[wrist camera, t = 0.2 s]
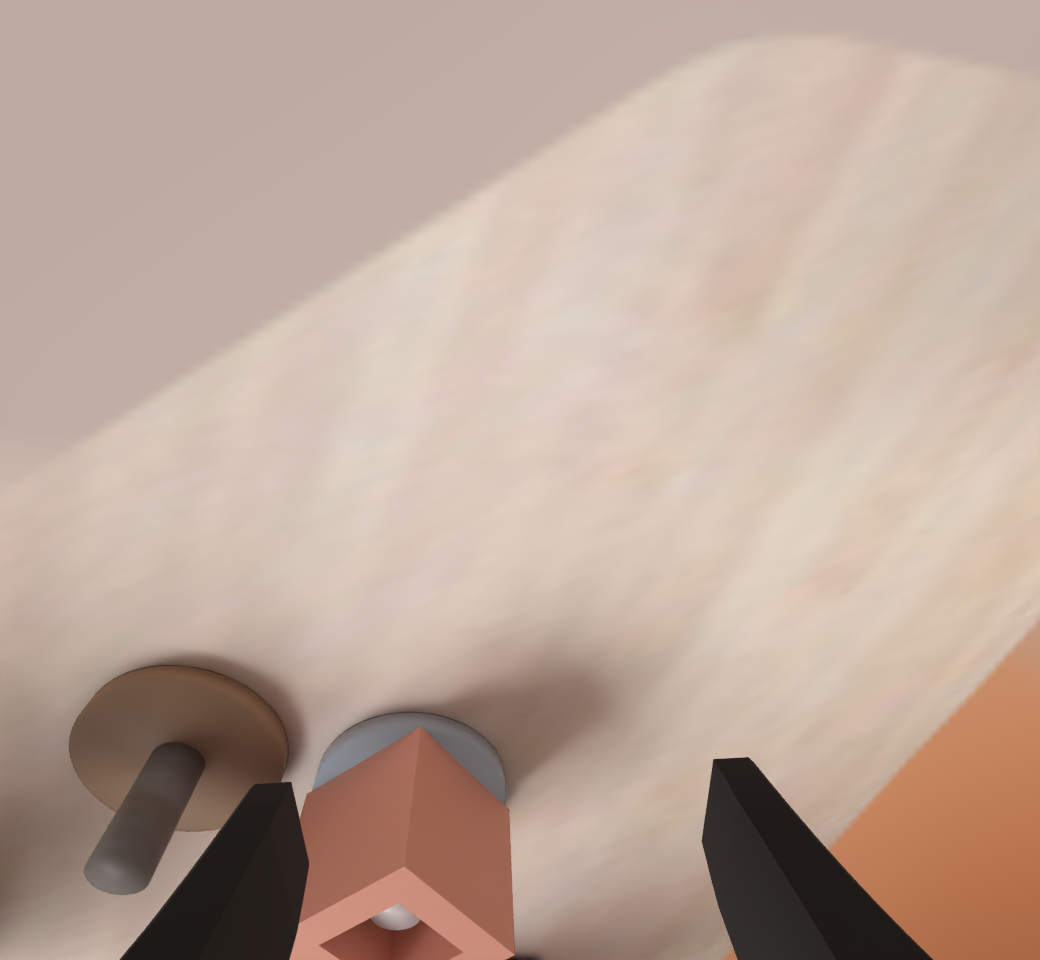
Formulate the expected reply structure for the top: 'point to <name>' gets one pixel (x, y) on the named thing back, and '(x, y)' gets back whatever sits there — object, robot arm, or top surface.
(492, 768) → the stand
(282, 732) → the hub
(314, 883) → the salmon square tube
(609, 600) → the top surface
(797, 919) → the robot arm
